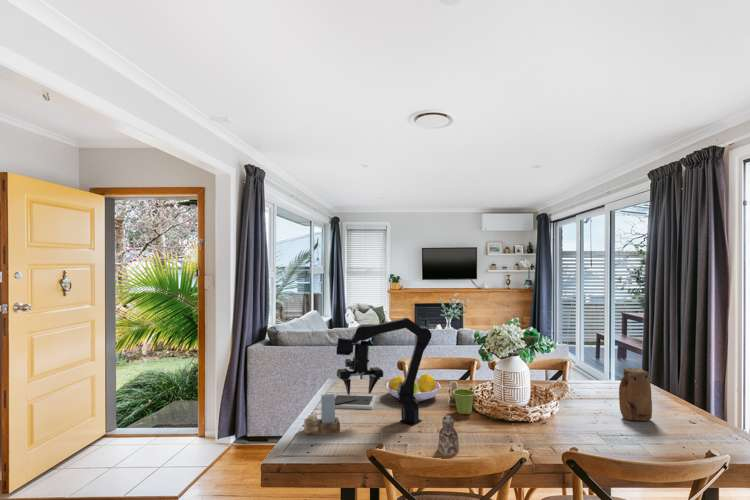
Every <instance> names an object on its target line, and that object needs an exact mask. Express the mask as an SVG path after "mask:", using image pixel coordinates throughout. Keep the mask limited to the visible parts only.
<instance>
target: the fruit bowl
mask: <svg viewBox="0 0 750 500" xmlns="http://www.w3.org/2000/svg"><path fill="white" fill-rule="evenodd" d="M404 380H405V377H402V376H401V375H398V376H395V377H393V378H391V379H390V380H389V381H388V382H386V389H387V391H388V392H389V394H391V395H392V396H393V397H395V398H396V399H399V397H398V393H397V389H398V387H399V382H402V383H403V381H404ZM441 388H442V387H441V385H440V383H439V382H438V381H436V380H435V379H434V377H433V376H432V375H431V374H430V373H429V374H428V373H426V374H421V376H420V377H416V379H415V382H414V395H413V396H414V397H415V398H416V400H417V402H418V403H420V402H423V401H427V400H429V399H432V398H435V396H436V395H437V394H438V392H439V391H440V390H441Z"/></svg>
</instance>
